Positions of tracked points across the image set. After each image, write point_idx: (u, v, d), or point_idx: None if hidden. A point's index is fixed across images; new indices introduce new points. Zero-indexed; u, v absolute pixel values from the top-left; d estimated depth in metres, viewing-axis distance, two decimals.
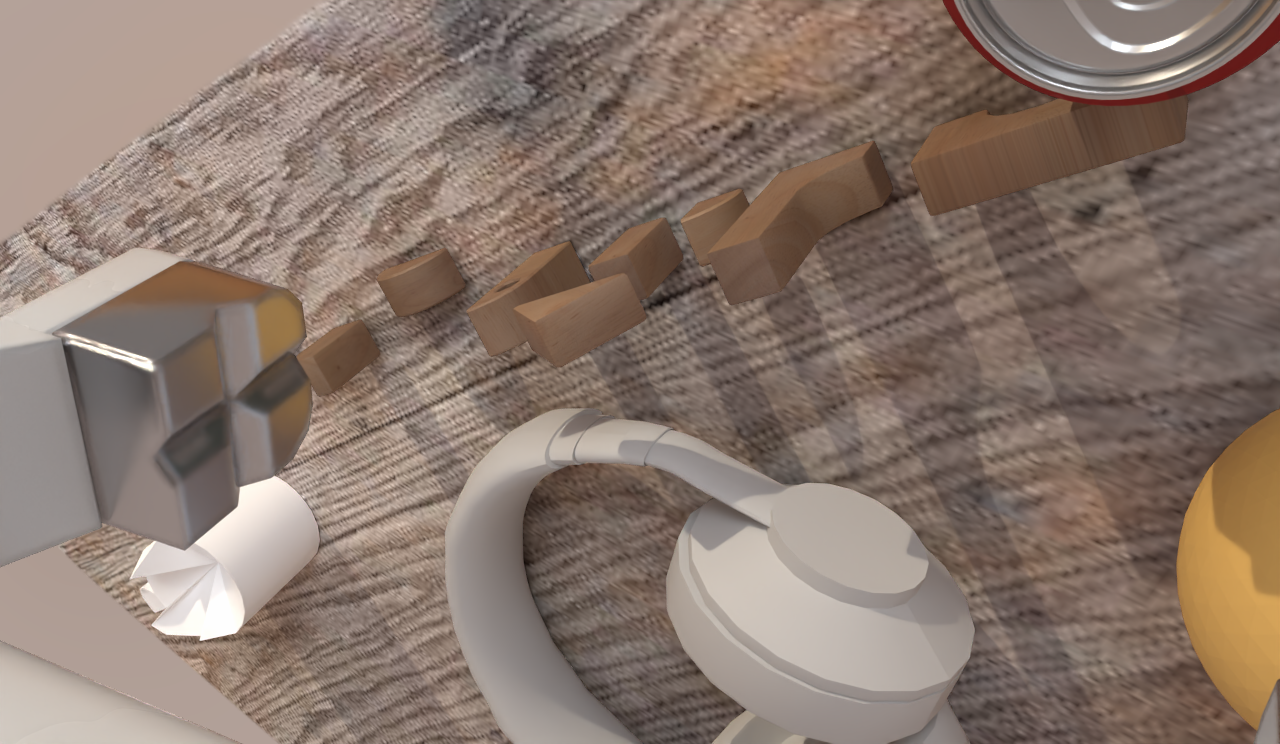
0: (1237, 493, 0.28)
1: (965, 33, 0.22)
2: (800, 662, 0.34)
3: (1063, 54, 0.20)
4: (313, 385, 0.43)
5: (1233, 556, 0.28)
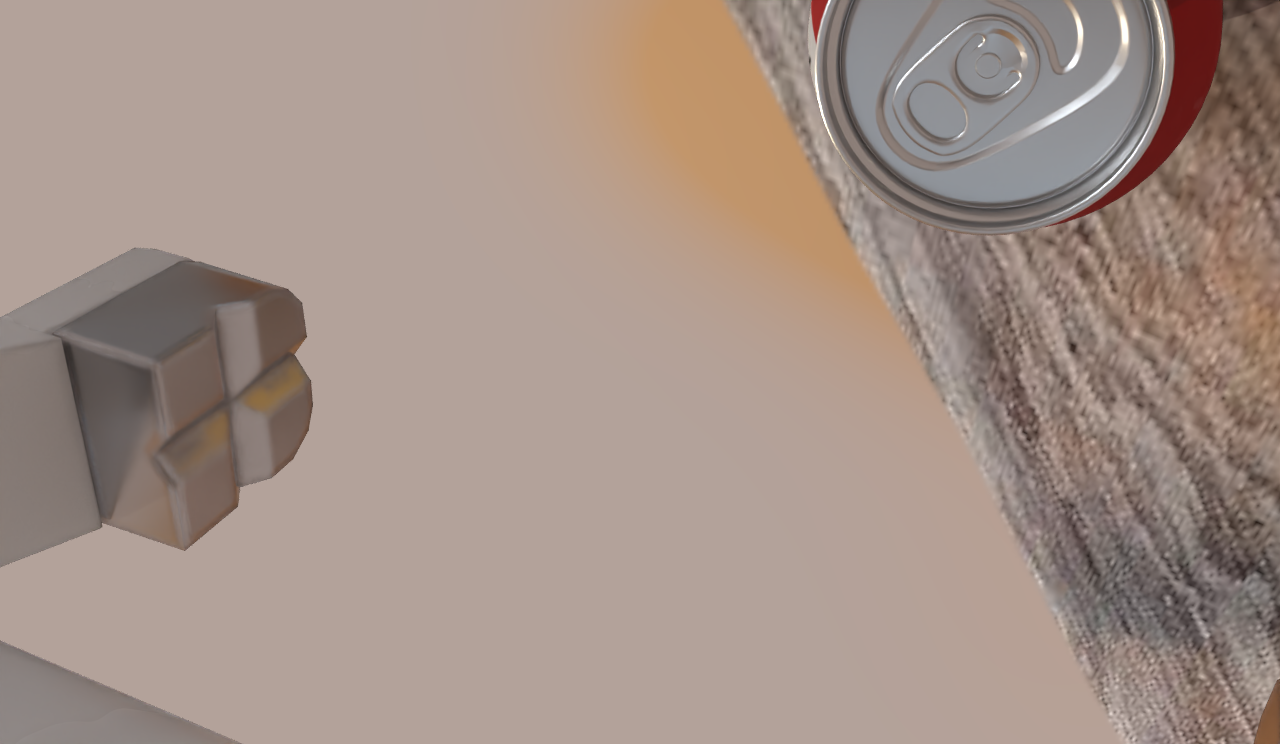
0: None
1: (1115, 198, 0.21)
2: None
3: (1122, 114, 0.19)
4: None
5: None
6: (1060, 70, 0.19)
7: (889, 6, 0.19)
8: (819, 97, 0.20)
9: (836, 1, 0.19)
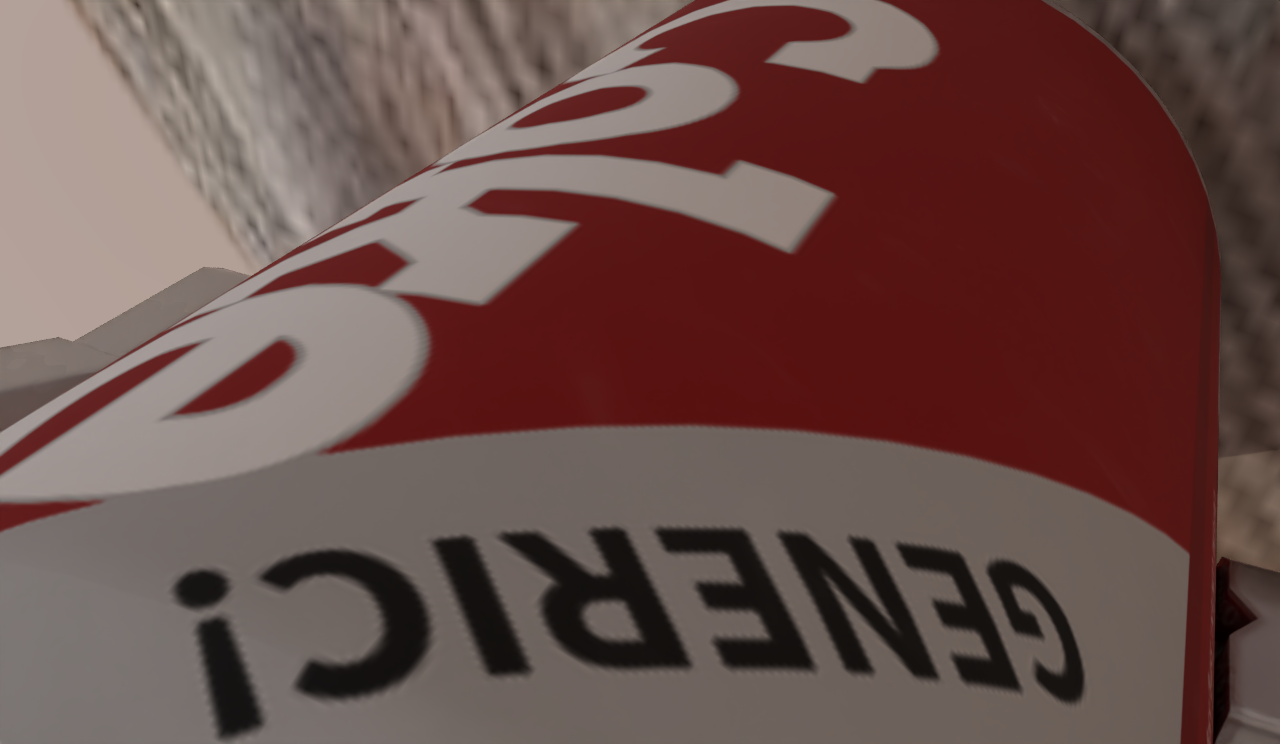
0: None
1: None
2: None
3: None
4: None
5: None
6: None
7: None
8: None
9: None
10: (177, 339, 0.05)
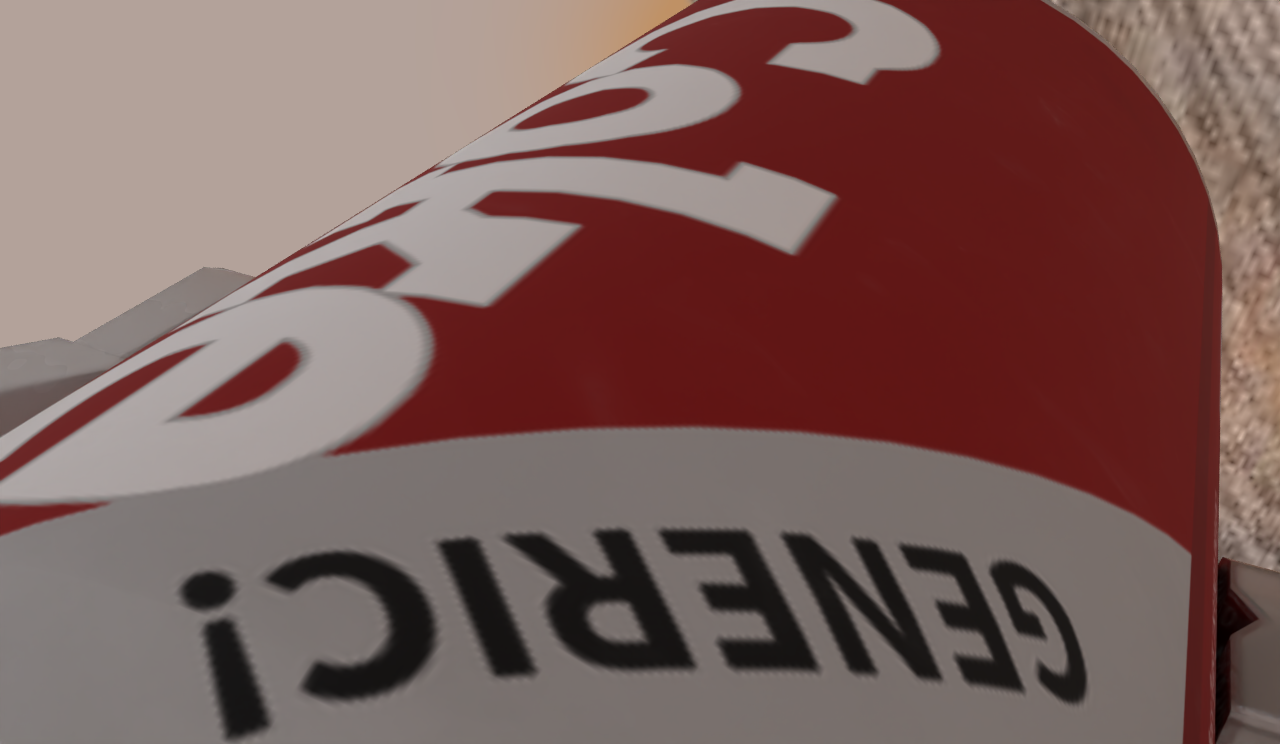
0: None
1: None
2: None
3: None
4: None
5: None
6: None
7: None
8: None
9: None
10: (181, 341, 0.05)
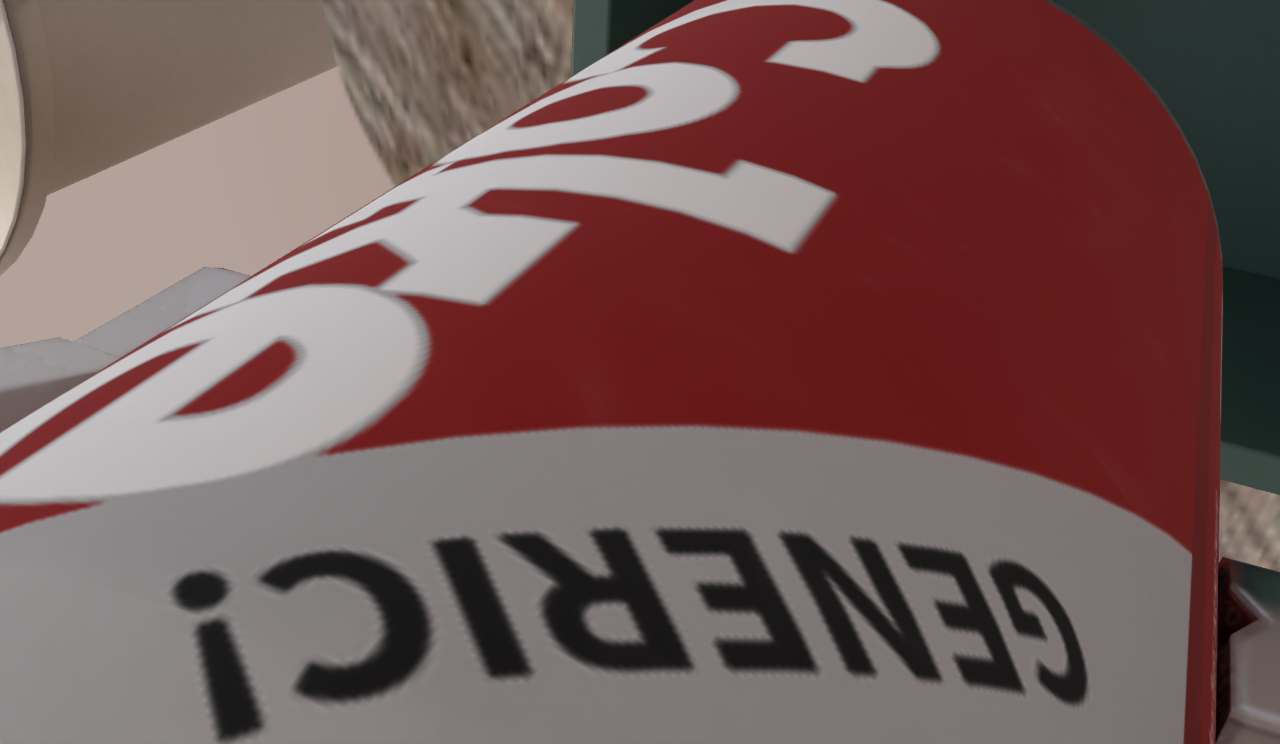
0: None
1: None
2: None
3: None
4: None
5: None
6: None
7: None
8: None
9: None
10: (176, 340, 0.05)
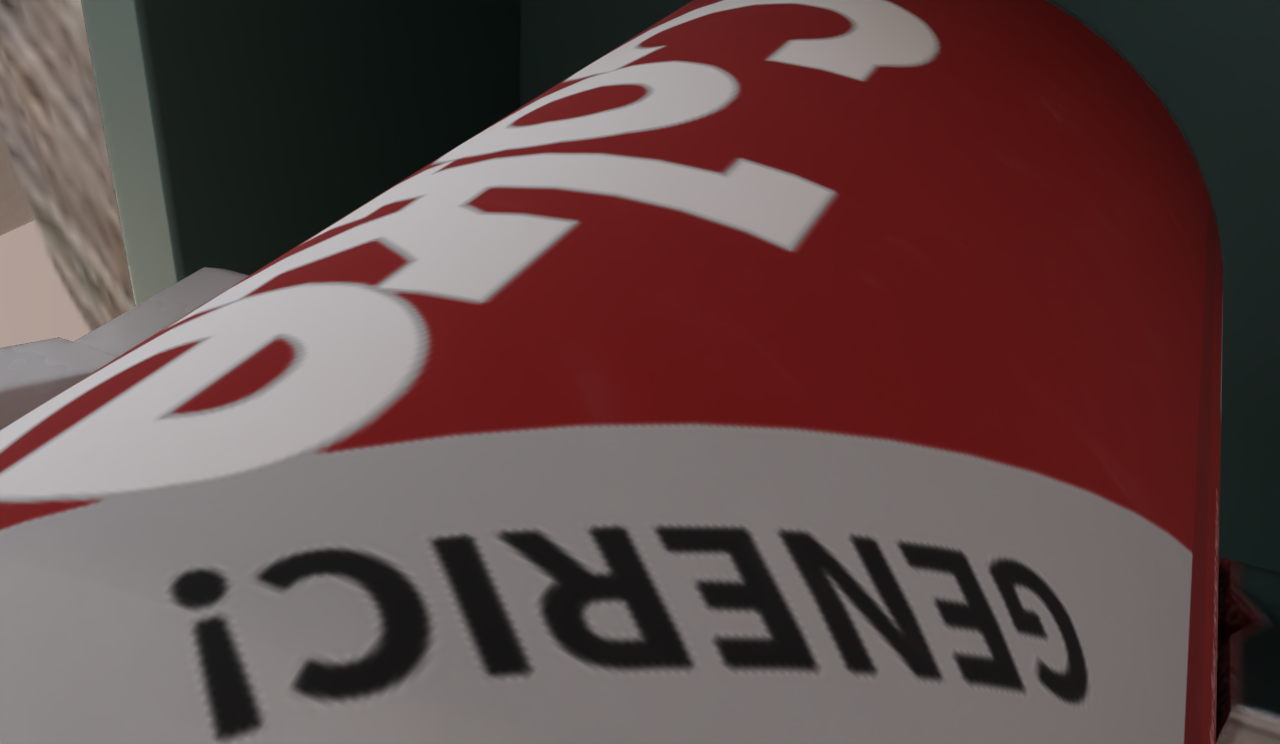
0: None
1: None
2: None
3: None
4: None
5: None
6: None
7: None
8: None
9: None
10: (175, 338, 0.05)
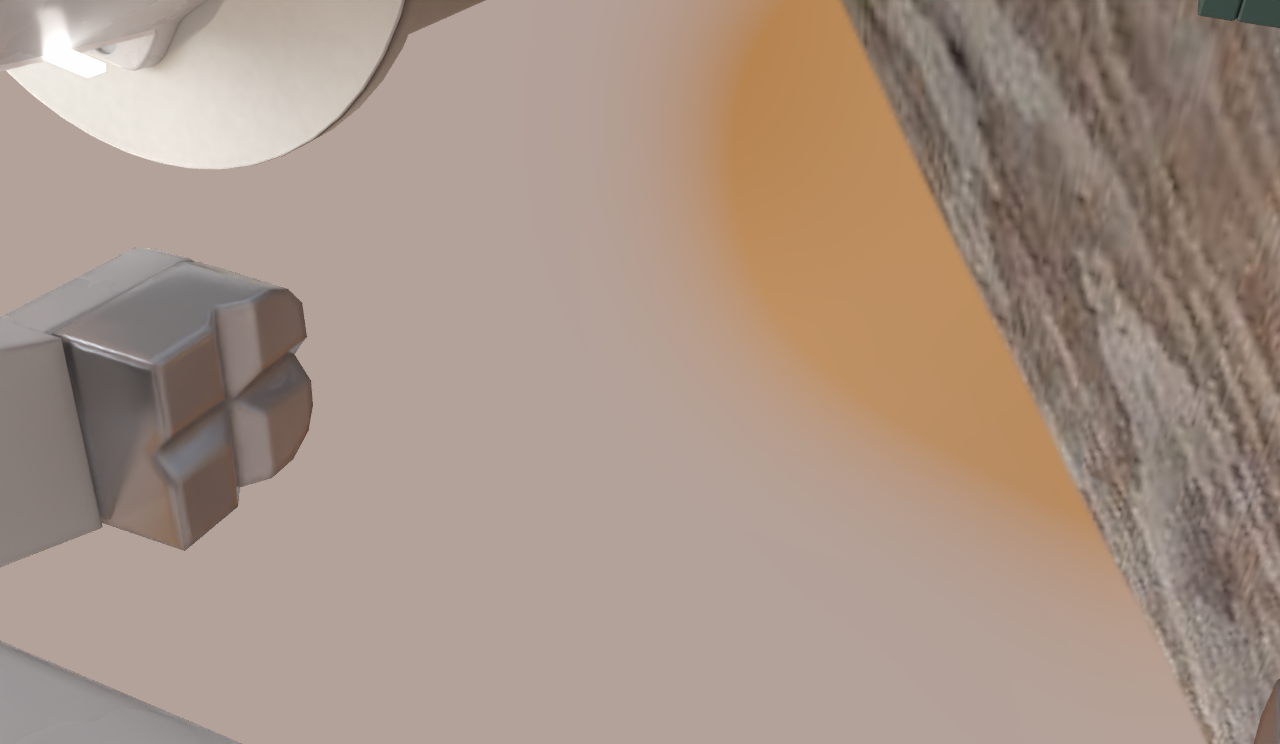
0: None
1: None
2: None
3: None
4: None
5: None
6: None
7: None
8: None
9: None
10: None
